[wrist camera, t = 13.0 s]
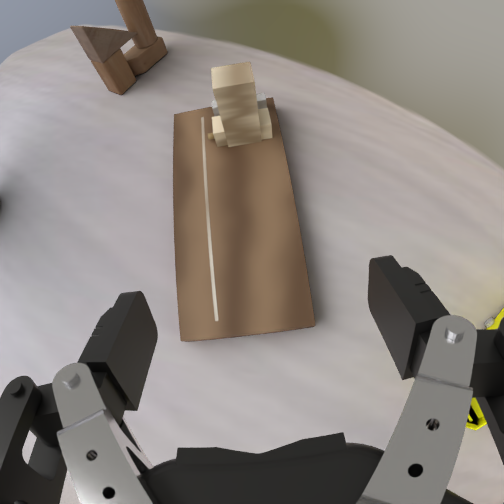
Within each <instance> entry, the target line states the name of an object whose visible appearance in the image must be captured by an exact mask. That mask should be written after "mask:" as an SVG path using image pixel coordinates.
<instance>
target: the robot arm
mask: <svg viewBox="0 0 504 504" xmlns="http://www.w3.org/2000/svg"><path fill="white" fill-rule="evenodd" d="M368 303H369V308H370V312H371V314H372V316H373V318H374V320H375V322H376V324H377V326H378V328H379V330H380V332H381V334H382V336H383V339H384V341H385V343H386V345H387V347H388V349H389V351H390V353H391V356H392V358H393V360H394V362H395V364H396V367H397V369H398V371H399V373H400V375H401V378H402V380H404V379H408V378H412V377H414V378H415V381H414V383H413V386H412V389H411V392H410V394H409V397H408V399H407V402H406V404H405V407H404V409H403V412H402V414H401V417H400V419H399V421H398V424H397V426H396V428H395V430H394V433H393V435H392V437H391V439H390V441H389V444H388V446H387V448H386V450H385V451H383V450H381V449H379V448H376V447H373V446H369V445H364V444H358V443H346V441H345V437H344V433H343V432H342V433H337V434H332V435H326V436H321V437H315V438H308V439H302V440H299V441H297V442H294V443H291V444H288V445H285V446H282V447H280V448H277V449H274V450H271V451H267V452H264V453H260V454H255V453H247V452H241V451H235V450H229V449H223V448H218V447H210V448H178V450H177V457H176V459H172V460H169V461H166V462H163V463H161V464H159V465H156V466H153V465H152V464H151V463H150V461H149V460H148V458H147V457H146V455H145V454H144V452H143V450H142V449H141V447H140V445H139V443H138V442H137V440H136V438H135V437H134V435H133V433H132V431H131V429H130V428H129V426H128V424H127V422H126V421H125V419H124V418H123V415H124V411H125V410H130V411H137V410H138V407H139V403H140V399H141V395H142V392H143V388H144V384H145V381H146V377H147V374H148V370H149V367H150V363H151V360H152V356H153V353H154V350H155V346H156V343H157V338H158V333H157V327H156V324H155V321H154V319H153V316H152V314H151V311H150V309H149V306H148V304H147V301H146V299H145V296H144V294H143V293H142V292H141V291H135V292H127V293H121V294H120V295H119V297H118V299H117V301H116V302H115V304H114V306H113V308H110V309H109V310H108V311H107V312H106V313H105V314H104V315H102V316H101V318H100V320H99V322H98V323H97V325H96V329H94V331H93V333H92V337H90V339H89V341H88V343H87V345H86V347H85V348H84V350H83V352H82V354H81V356H80V359H79V361H78V363H73V364H70V365H67V366H65V367H64V368H62V369H61V370H60V371H59V372H58V373H57V374H56V376H55V377H54V379H53V383H50V384H46V385H41V386H36V384H35V383H34V382H33V380H32V379H31V378H30V377H28V376H20V377H17V378H15V379H14V380H12V381H11V382H10V383H9V384H8V385H7V386H6V388H5V390H4V392H3V393H2V395H1V397H0V504H59V503H60V498H61V494H62V489H63V485H64V481H65V477H66V472H67V469H68V472H69V475H70V477H71V480H72V483H73V485H74V488H75V490H76V493H77V495H78V498H79V500H80V503H81V504H473V503H471V502H469V501H467V500H466V499H464V498H462V497H460V496H458V495H457V494H455V493H453V492H451V491H450V490H448V489H446V488H447V485H448V483H449V480H450V477H451V474H452V471H453V468H454V465H455V462H456V459H457V456H458V452H459V449H460V445H461V442H462V438H463V435H464V431H465V427H466V423H467V419H468V414H469V410H470V405H471V400H472V398H476V400H477V402H478V404H479V407H480V409H481V411H482V413H483V415H484V418H485V420H486V422H487V424H488V427H489V429H490V432H491V434H492V436H493V439H494V441H495V444H496V446H497V449H498V451H499V454H500V457H501V459H502V462H503V465H504V317H503V318H502V320H501V321H500V324H499V327H498V329H488V330H476V328H475V327H474V325H473V324H472V323H471V322H470V321H468V320H467V319H465V318H463V317H460V316H455V315H450V314H449V312H448V311H447V310H446V308H445V307H444V306H443V304H442V303H441V302H440V300H439V299H438V298H437V296H436V295H435V294H434V293H433V291H431V289H430V287H429V286H428V285H427V284H425V281H424V280H423V279H422V277H421V276H420V275H419V274H418V273H417V272H415V271H413V270H412V269H410V268H408V267H403V268H402V267H401V266H400V265H399V264H398V262H397V261H396V260H395V258H394V257H393V256H392V255H389V256H383V257H377V258H372V259H371V260H370V263H369V284H368ZM29 430H30V431H31V432H32V433H33V434H34V435H35V436H36V437H37V439H36V442H35V445H34V448H33V451H32V454H31V457H30V460H29V463H28V464H27V463H26V462H25V461H24V459H23V456H22V449H23V446H24V443H25V440H26V437H27V435H28V432H29ZM503 504H504V503H503Z"/></svg>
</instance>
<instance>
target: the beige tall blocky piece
mask: <svg viewBox="0 0 504 504" xmlns="http://www.w3.org/2000/svg"><path fill="white" fill-rule="evenodd" d="M211 74H212V87H213V92H214V96H215V99H216V103H217V106H218V110H219V114H220V116H215V117H212V126H213V133H208V139H209V140H210V139H215V141H216V144H217V147H220V146H226V145H228V147H232V146H238V145H245V144H251V143H257V142H262V140H263V139H270V138H272V124H271V120H270V115H269V111H268V108H263V109H258V106H257V98H256V90H255V82H254V77H253V73H252V68H251V63H250V62H245V63H239V64H232V65H227V66H221V67H216V68H211Z"/></svg>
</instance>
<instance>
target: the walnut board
mask: <svg viewBox="0 0 504 504" xmlns="http://www.w3.org/2000/svg"><path fill="white" fill-rule="evenodd" d="M256 98H257V106H258V109H263V108H268V111H269V115H270V120H271V124H272V138H270V139H263V140H262V142H257V143H251V144H245V145H238V146H232V147H228V145H226V146H220V147H217V144H216V141H215V139H210V140H209V139H208V133H213V126H212V117H215V116H220V114H219V110H218V106H217V103H216V100H214V101H212V107H208V108H203V109H198V110H193V111H188V112H183V113H179V114H174V143H173V208H174V243H175V266H176V284H177V300H178V314H179V326H180V338H181V341H185V342H190V341H201V340H212V339H222V338H232V337H241V336H250V335H258V334H266V333H274V332H281V331H289V330H296V329H302V328H309V327H314V326H315V319H314V313H313V306H312V299H311V293H310V286H309V280H308V274H307V268H306V262H305V256H304V250H303V244H302V238H301V233H300V227H299V221H298V216H297V210H296V205H295V200H294V195H293V189H292V184H291V179H290V174H289V169H288V164H287V159H286V155H285V150H284V145H283V140H282V136H281V131H280V127H279V122H278V117H277V113H276V109H275V104H274V100H273V98H266V96H265V93H259V94H256Z"/></svg>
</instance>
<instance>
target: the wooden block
mask: <svg viewBox="0 0 504 504" xmlns="http://www.w3.org/2000/svg"><path fill="white" fill-rule="evenodd" d="M115 2H116V4H117V6H118V8H119V11H120V13H121V15H122V17H123V20H124V22H125V24H126V26H127V28H128V31H124V30H116V29H107V28H96V27H84V26H70V28H71V29H72V31H73V33H74V34H75V36H76V38H77V39H78V41H79V43H80V44H81V46H82V48H83V49H84V51H85V53H86V54H87V56H88V58H89V59H90V60H91V62H92V64H93V65H94V67H95V69H96V70H97V72H98V74H99V75H100V77H101V79H102V80H103V82H104V83H105V85H106V87H107V88H108V90H109V91H111V92H114V93H117V94H119V95H122V94H123V93H124V92H125V91H126V90H127V89H128V88H129V87H131V86H132V85H133V84H134V83H135V82H136V78H135V76H136V75H139V74H142V73H145V72H146V71H147V70H148V69H150V68H151V67H152V66H153V65H154V64H155V63H156V62H158V61H159V60H160V59H161V58H162V57H163V56H165V55H166V54H167V49H166V46H165V44H164V41H163V39H162V37H157V35H156V33H155V30H154V28H153V26H152V23H151V20H150V18H149V15H148V12H147V10H146V7H145V5H144V2H143V0H115ZM131 38H132V39H133V42H134V44H135V46H133V47H132V48H131V49H130V50H129V51H127V52H126V53H125V54H124V55H123V53H122V51H121V49H120V47H122V46H123V45H124V44H125V43H126V42H128V41H129V40H130V39H131Z"/></svg>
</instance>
